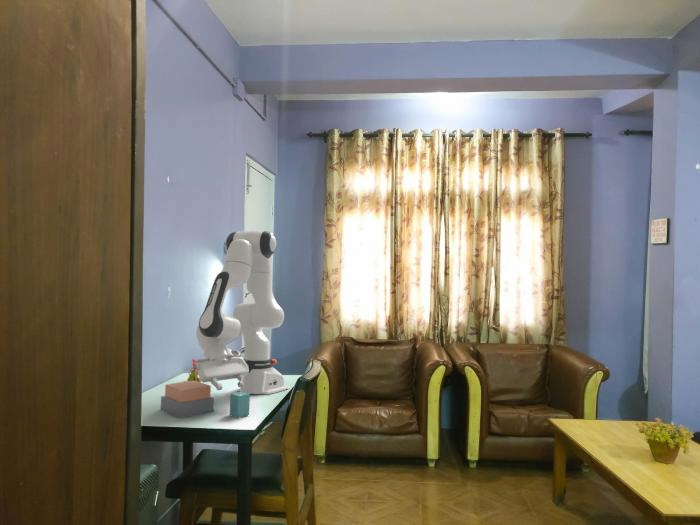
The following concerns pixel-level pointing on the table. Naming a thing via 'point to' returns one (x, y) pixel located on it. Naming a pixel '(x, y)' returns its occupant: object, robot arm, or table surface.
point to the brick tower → (187, 399)
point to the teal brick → (239, 404)
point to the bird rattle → (193, 373)
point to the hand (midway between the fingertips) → (231, 387)
